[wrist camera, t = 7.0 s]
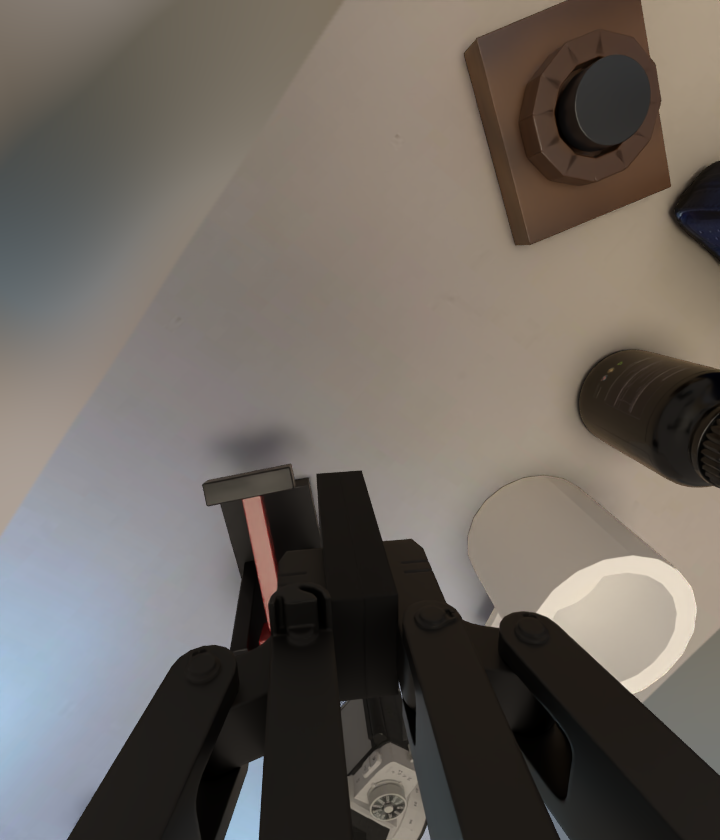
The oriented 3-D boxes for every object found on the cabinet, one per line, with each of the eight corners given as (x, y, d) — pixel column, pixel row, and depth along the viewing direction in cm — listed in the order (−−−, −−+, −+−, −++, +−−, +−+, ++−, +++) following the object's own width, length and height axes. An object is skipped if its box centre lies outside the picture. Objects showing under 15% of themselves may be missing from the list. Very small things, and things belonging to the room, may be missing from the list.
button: (550, 83, 27) (566, 72, 25) (621, 53, 27) (643, 40, 25) (567, 163, 28) (584, 157, 26) (636, 135, 28) (657, 127, 26)
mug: (538, 639, 43) (612, 758, 33) (427, 609, 41) (471, 727, 30) (619, 498, 39) (730, 583, 29) (504, 457, 37) (580, 533, 27)
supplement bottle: (684, 389, 37) (854, 449, 26) (613, 457, 38) (746, 543, 27) (628, 325, 35) (786, 359, 24) (555, 399, 36) (673, 465, 25)
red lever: (208, 478, 31) (199, 485, 28) (292, 462, 31) (289, 467, 29) (249, 671, 32) (243, 693, 29) (330, 653, 32) (330, 674, 30)
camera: (340, 822, 47) (351, 967, 37) (255, 787, 44) (244, 933, 35) (448, 703, 44) (490, 828, 34) (364, 659, 41) (384, 780, 32)
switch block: (463, 53, 29) (488, 23, 25) (611, -9, 29) (659, -48, 25) (515, 245, 33) (543, 244, 29) (647, 190, 33) (693, 182, 29)
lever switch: (222, 494, 36) (196, 579, 26) (308, 477, 36) (312, 555, 27) (266, 655, 40) (258, 776, 31) (343, 638, 40) (357, 752, 31)
